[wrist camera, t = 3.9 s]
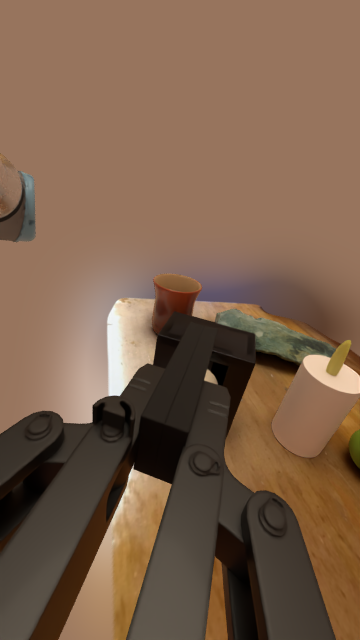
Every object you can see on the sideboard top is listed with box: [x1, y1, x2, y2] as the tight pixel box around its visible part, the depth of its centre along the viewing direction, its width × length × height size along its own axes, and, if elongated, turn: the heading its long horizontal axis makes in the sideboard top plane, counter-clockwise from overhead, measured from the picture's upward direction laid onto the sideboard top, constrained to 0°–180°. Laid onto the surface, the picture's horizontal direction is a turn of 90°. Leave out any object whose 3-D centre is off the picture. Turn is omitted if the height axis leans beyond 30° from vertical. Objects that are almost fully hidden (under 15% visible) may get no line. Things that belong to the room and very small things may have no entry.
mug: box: [152, 274, 202, 334], centre depth 48 cm, size 12×9×10 cm
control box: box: [153, 311, 256, 437], centre depth 30 cm, size 10×6×12 cm, turn 75°
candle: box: [271, 340, 360, 458], centre depth 29 cm, size 6×6×15 cm
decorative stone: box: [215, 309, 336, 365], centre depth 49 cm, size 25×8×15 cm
